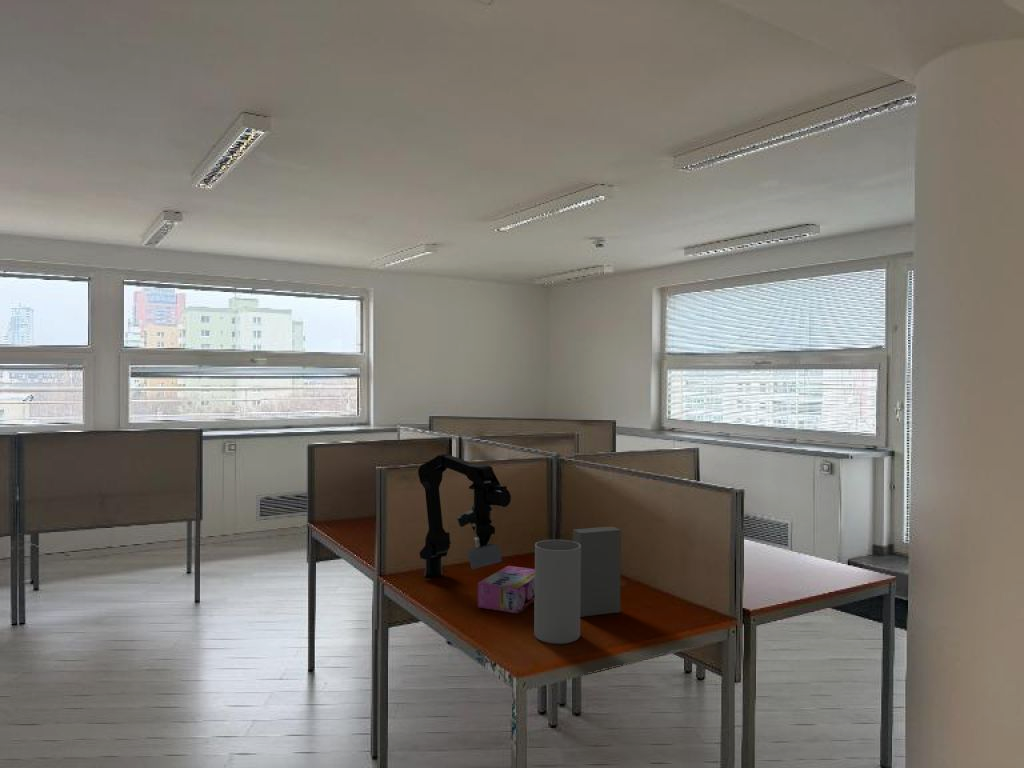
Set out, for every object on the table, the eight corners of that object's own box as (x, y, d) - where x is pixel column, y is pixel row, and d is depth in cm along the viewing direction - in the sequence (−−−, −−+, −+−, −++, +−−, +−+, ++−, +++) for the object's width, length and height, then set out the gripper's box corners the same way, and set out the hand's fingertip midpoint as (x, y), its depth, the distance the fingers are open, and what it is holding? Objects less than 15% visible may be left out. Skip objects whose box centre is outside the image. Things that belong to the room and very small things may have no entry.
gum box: (509, 563, 239) (547, 568, 234) (509, 587, 239) (547, 592, 234) (477, 582, 217) (518, 588, 212) (477, 608, 217) (518, 614, 212)
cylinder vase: (577, 628, 201) (577, 539, 201) (582, 645, 188) (583, 550, 188) (532, 628, 200) (533, 539, 200) (535, 645, 188) (536, 550, 188)
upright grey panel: (610, 606, 220) (611, 525, 220) (620, 612, 214) (621, 529, 214) (570, 611, 215) (571, 528, 215) (579, 618, 209) (580, 533, 209)
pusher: (468, 559, 240) (464, 540, 239) (497, 552, 241) (493, 532, 240) (472, 569, 230) (467, 548, 229) (501, 561, 231) (497, 541, 231)
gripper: (455, 499, 246) (455, 544, 246) (460, 509, 228) (460, 558, 228) (487, 498, 248) (487, 543, 248) (495, 508, 230) (495, 556, 230)
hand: (481, 550), depth 239 cm, fingers closed on pusher, 3 cm apart
